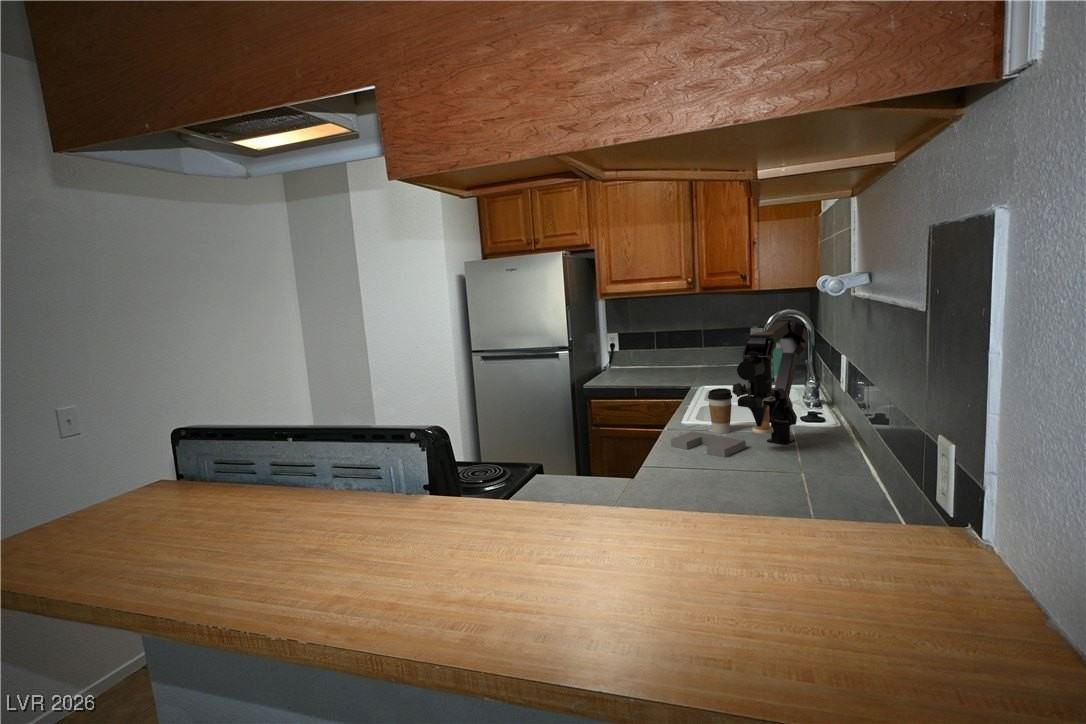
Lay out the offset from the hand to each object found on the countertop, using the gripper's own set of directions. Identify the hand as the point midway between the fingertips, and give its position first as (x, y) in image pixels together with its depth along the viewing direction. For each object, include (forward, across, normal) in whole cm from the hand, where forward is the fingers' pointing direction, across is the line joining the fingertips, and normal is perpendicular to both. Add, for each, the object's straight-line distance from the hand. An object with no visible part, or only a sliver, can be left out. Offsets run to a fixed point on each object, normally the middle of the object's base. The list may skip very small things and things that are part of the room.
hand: (762, 424), depth 172 cm
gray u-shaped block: (+8, +6, -16) cm, 19 cm away
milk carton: (+8, -114, -54) cm, 127 cm away
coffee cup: (+9, -13, -23) cm, 28 cm away
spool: (+2, 0, 0) cm, 2 cm away
